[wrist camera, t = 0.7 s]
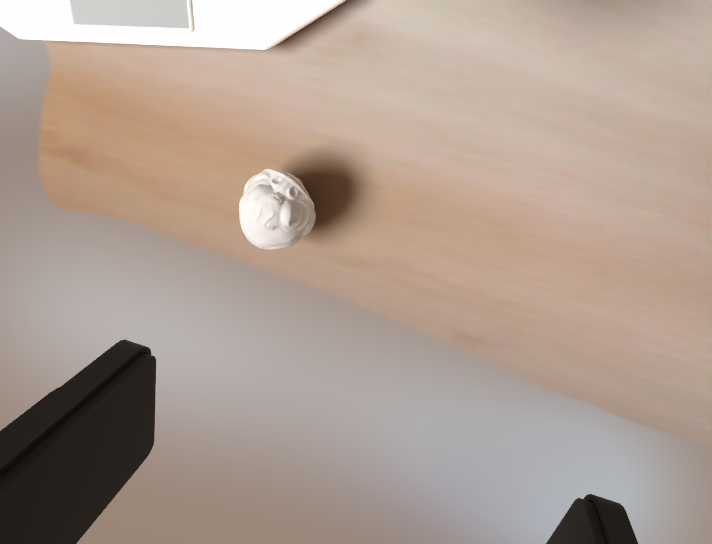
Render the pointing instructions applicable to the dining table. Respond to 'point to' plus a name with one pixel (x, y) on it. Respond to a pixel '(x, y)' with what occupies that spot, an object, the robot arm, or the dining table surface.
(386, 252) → the dining table surface
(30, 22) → the laptop
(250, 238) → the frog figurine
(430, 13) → the dining table surface
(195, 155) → the dining table surface
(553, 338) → the dining table surface
